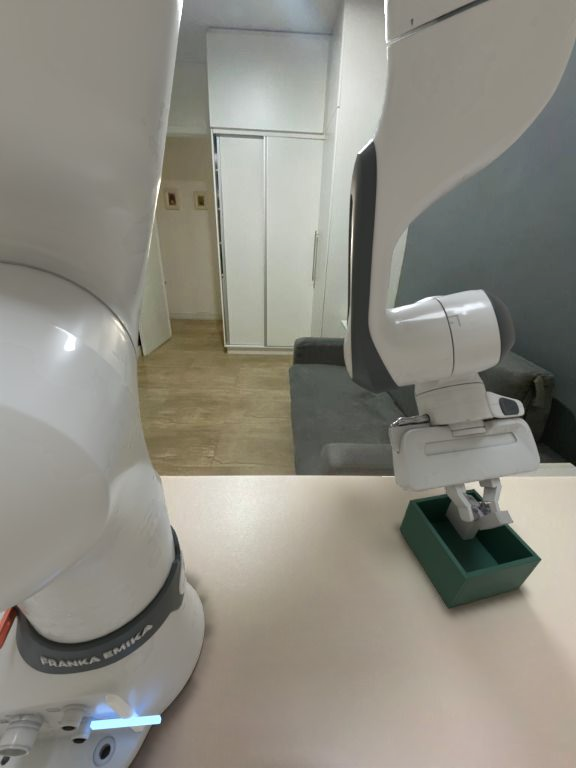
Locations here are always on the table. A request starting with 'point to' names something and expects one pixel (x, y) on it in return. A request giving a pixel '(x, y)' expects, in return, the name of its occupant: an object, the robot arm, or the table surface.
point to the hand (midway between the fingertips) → (481, 518)
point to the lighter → (485, 522)
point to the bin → (465, 553)
